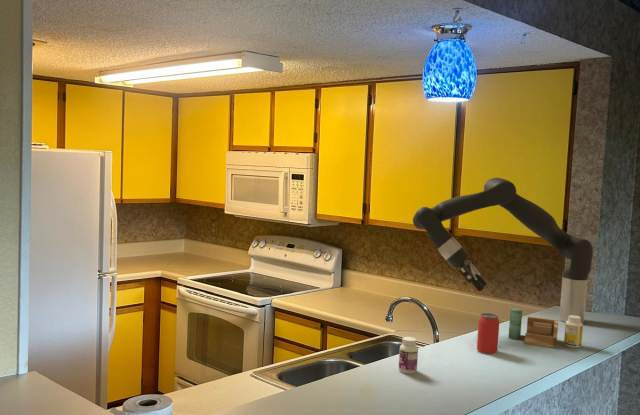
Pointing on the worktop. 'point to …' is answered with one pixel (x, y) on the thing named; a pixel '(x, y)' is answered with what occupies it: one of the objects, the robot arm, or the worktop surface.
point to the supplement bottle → (573, 332)
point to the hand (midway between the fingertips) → (483, 287)
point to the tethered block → (516, 326)
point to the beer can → (488, 333)
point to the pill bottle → (408, 355)
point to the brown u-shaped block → (541, 339)
